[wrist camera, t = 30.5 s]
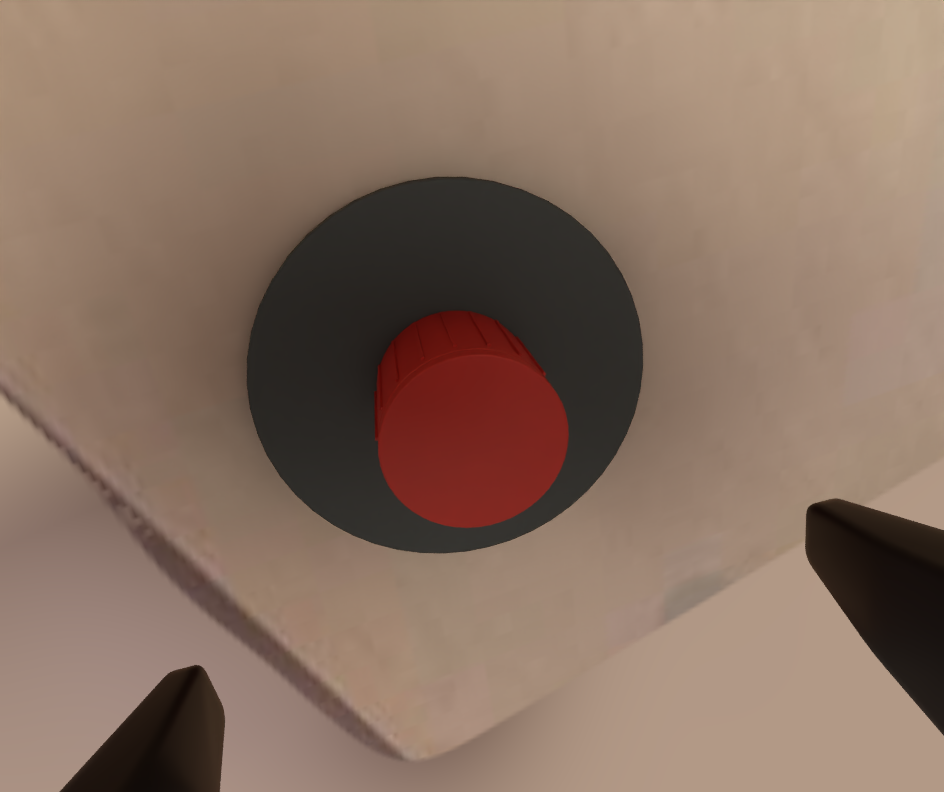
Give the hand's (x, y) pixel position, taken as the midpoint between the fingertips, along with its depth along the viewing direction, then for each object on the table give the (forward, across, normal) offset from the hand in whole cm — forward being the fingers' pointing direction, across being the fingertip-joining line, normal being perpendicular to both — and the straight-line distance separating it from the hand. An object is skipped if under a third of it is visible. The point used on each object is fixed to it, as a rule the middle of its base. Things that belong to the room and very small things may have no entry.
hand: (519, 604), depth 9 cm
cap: (+9, 0, 0) cm, 9 cm away
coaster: (+10, 0, 0) cm, 10 cm away
